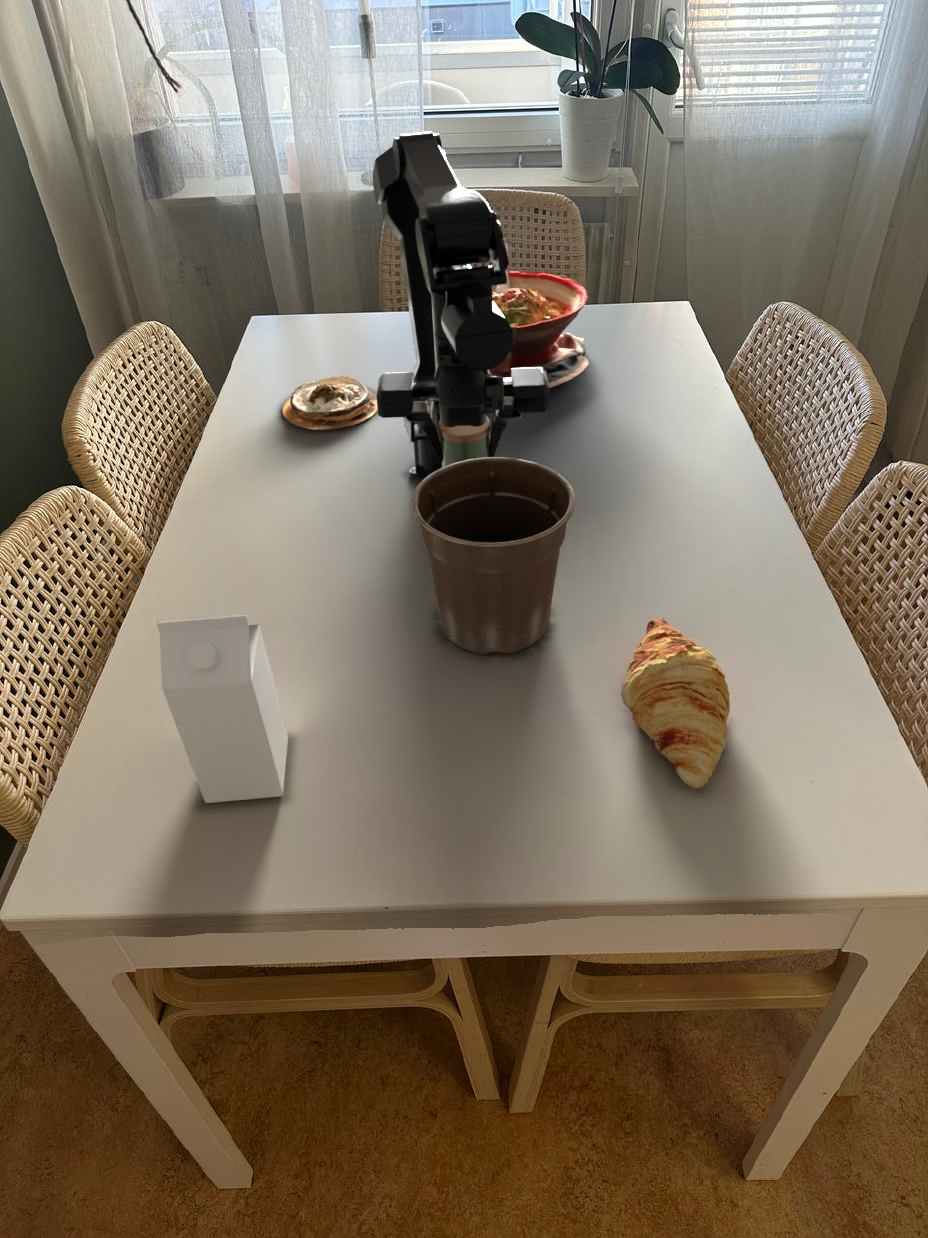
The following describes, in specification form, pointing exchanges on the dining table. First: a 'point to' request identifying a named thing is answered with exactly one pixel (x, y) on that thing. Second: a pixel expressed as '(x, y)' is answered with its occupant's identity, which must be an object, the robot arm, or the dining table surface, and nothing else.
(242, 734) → the milk carton
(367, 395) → the stacked pancakes
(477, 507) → the plant pot
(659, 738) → the croissant
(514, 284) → the stew
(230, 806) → the dining table surface
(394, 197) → the robot arm
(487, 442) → the jar
